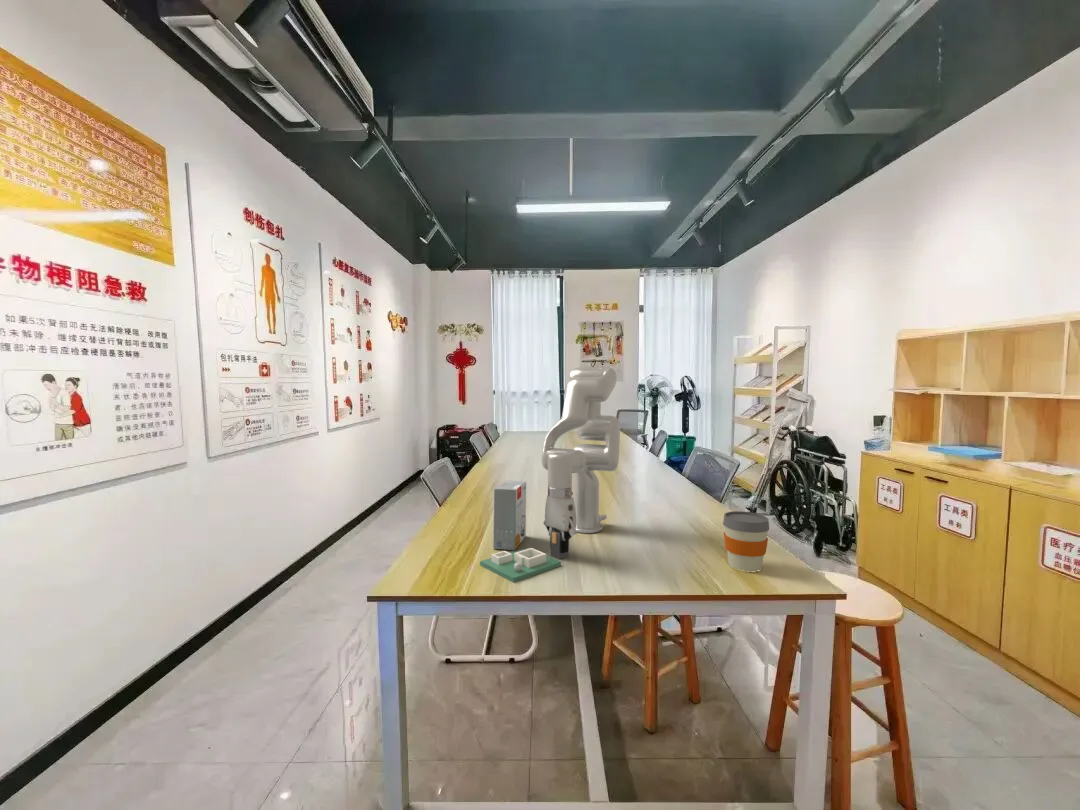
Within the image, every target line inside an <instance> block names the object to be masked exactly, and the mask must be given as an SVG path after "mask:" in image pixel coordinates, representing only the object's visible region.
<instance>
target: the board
mask: <svg viewBox="0 0 1080 810" xmlns="http://www.w3.org/2000/svg"><path fill="white" fill-rule="evenodd" d="M526 549H529V547H524V548H520V549H515V550H512V551H510V552H509V551H508V550H507V551H506V550H502V551H499V552H496V553H495V552H494V553H491V554H490V558H486V559H483V560H480V561H479V565H480V567H483V568H485V569H487V570H489V571H491V572H492V573H494V574H496V575H498V576H500V577H502V578H504V579H506V580H508V581H509V582H512V583H516V582H518V581H522V580H524V579H527V578H530V577H533V576H535V575H538V574H541V573H544V572H547V571H550V570H553V569H556V568H557V567H560V566H562V561H560V560H559V559H558V560H557V558H553V557H552V556H548V555H546V562H545V563H542V564H539V565H536V566H533V567H530V568H527V567H525V566H522V564H521V563H517V562H514V553H516V552H519V551H522V550H526ZM530 558H531V557H530Z"/></svg>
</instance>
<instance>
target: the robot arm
mask: <svg viewBox="0 0 1080 810" xmlns="http://www.w3.org/2000/svg"><path fill="white" fill-rule="evenodd" d="M568 376H569V377H568V378H569V380H568V382H567V384H566V389H565V395H564V401H563V402H564V403H563V408H562V413H561V414H562V415H561V418H560V419H559V420H558V421H557V422H555V424H554V425H552V427H551V428H550V429H549V431H548V432H547V433H546V436H545V438H544V441H543V445H542V446H543V447H542V453H541V466H542V467H543V469H545V470H546V471H547V495H546V499H545V500H546V501H545V508H544V521H543V526H545V528H546V530H547V531H548V536H549V549H550V550H551V530H554V529H558V530H561V537H562V540H560V553H565V552H568V551H570V540H571V538H572V537H573V536H574V535H576V534H577V533H581V534H595V533H599V532H602V530H604V529H603V528H604V525H603V524H602V523H601V522H602V521H605V520H607V515H606V514H604V513H603V514H600V511H599V510H600V508H599V507H600V502H599V501H600V481H599V478H598V476H597V475H596V473H595V471H600V472H614V471H616V470H617V468H618V465H619V463H620V462H619V460H620V443H621V442H620V440H621V439H620V437H621V426H620V422H619V419H618V418H617V417H616V416H614V415H607V414H606V415H602V414H601V409H602V407H601V405H602V402H603V403H604V402H606V401H607V400H608V399H609V397H610V396H611V394H612V392H613V391H614V389H615V388H616V384H617V373H616V371H615V370H614V368H612V367H610V366H584V367H583V366H580V367H575V368H573V369H571V370H570V372H569V375H568ZM573 430H574V431H575V430H576V435H577V437H578V438H579V439H581V440H584V441H593V442H594V441H595V442H596V441H597V442H605V444H594V443H592V444H591V443H579V444H576V445H574V446H573V447H572V449H571V448H557V447H556V444H557V442H558V440H559V439H560V438H561V437H562V436H563V435H566V434H567V433H569V432H572V431H573ZM565 532H566V535H565Z"/></svg>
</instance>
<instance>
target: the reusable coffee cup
mask: <svg viewBox="0 0 1080 810" xmlns="http://www.w3.org/2000/svg"><path fill="white" fill-rule="evenodd" d="M722 525H723V526H724V527H723V528H724V532H723V538H724V540H723V541H724V548H725V550H726V552H727V562H728V566H729V565H730V566H731V567H733V568H736V569H740V570H745V571H757V570H760V569H761V570H762V568H763V567H762V566H763V562H764V556H765V555H766V553H767V547H768V542H769V538H768V532H769V530H770V522H769V518H768V517H767V516H766V515H763V514H761V513H756V512H751V511H750V512H749V511H742V510H741V511H740V510H739V511H738V510H737V511H736V510H735V511H727V512H724V514H723V521H722ZM730 566H729V567H730ZM731 567H730V568H731Z"/></svg>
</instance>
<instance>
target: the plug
mask: <svg viewBox="0 0 1080 810" xmlns="http://www.w3.org/2000/svg"><path fill="white" fill-rule="evenodd" d="M565 535H566V532H565ZM550 537H551V549H550V557H552V558H553V557H554V559H558V560H562V559H564V558H567V557H569V556H570V555H569V553H570V552H569V551H570V550H569V551H568V552H565V553H560V540H562V537H561V530H558V529H554V530H551V536H550Z"/></svg>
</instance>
